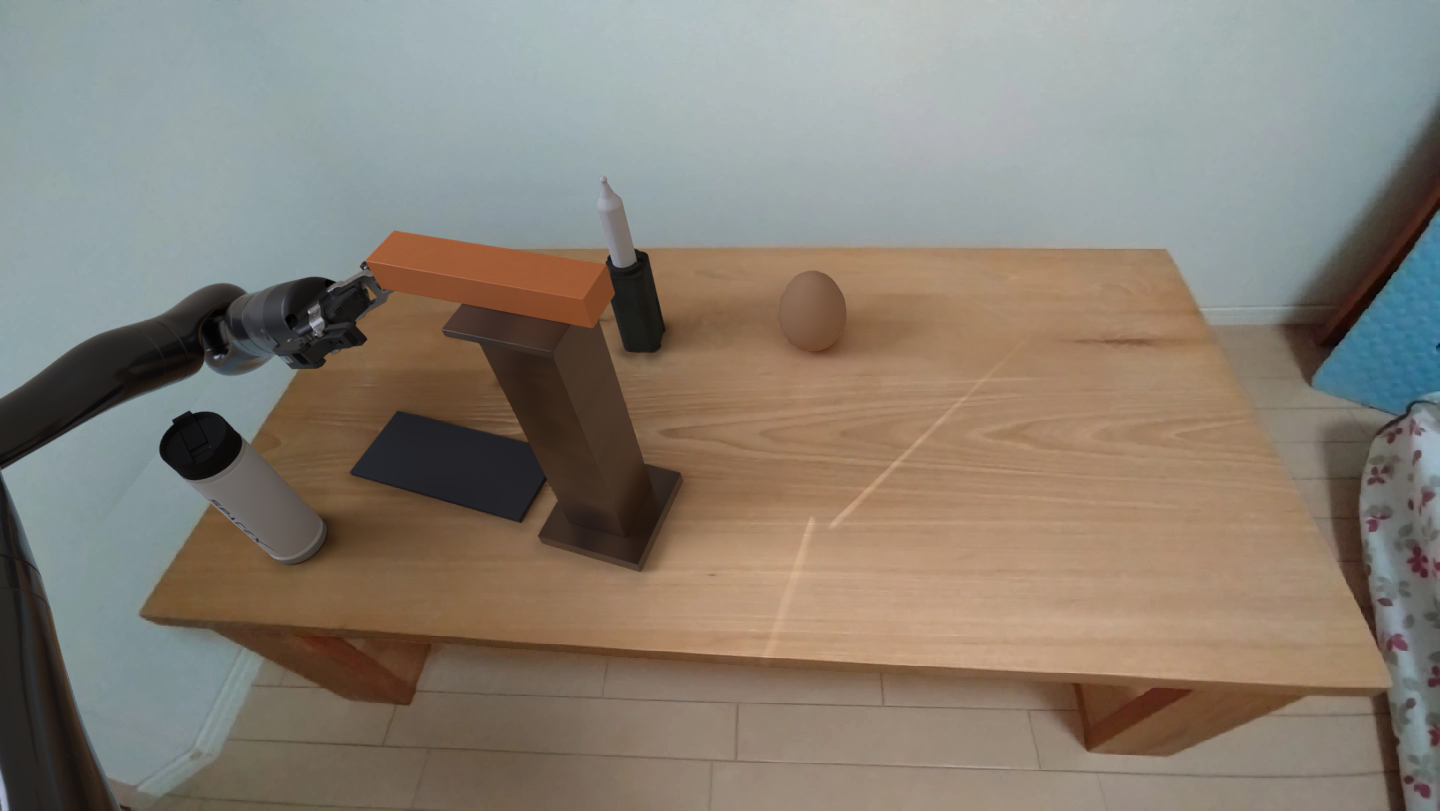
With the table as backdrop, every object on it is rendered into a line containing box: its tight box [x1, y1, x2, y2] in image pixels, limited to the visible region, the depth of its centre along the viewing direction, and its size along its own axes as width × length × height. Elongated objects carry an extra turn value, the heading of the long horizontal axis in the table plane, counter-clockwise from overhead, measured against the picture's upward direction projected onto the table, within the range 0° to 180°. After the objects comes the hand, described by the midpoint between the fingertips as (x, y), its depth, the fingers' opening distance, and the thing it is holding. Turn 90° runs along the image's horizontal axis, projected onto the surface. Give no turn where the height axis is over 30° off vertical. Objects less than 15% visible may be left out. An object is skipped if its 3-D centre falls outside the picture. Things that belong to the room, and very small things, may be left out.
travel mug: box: [158, 410, 328, 565], centre depth 81 cm, size 6×7×20 cm
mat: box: [349, 410, 547, 524], centre depth 92 cm, size 24×10×1 cm, turn 70°
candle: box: [596, 175, 666, 353], centre depth 93 cm, size 5×5×25 cm
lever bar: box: [364, 230, 615, 328], centre depth 61 cm, size 20×4×3 cm, turn 70°
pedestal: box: [441, 266, 684, 573], centre depth 74 cm, size 12×12×32 cm
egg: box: [778, 270, 847, 352], centre depth 95 cm, size 8×8×11 cm
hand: (388, 302), depth 70 cm, fingers open, 8 cm apart
